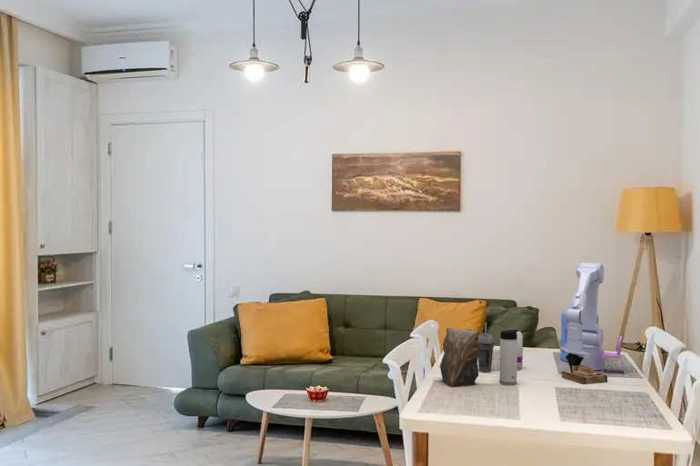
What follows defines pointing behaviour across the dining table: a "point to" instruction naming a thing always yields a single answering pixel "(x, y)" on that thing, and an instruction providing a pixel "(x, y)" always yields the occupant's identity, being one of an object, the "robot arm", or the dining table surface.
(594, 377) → the bay
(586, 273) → the robot arm
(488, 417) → the dining table surface
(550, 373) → the dining table surface
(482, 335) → the beverage cup
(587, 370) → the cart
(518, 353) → the supplement can
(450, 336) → the brown rough lump
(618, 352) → the toy chair
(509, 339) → the travel mug
